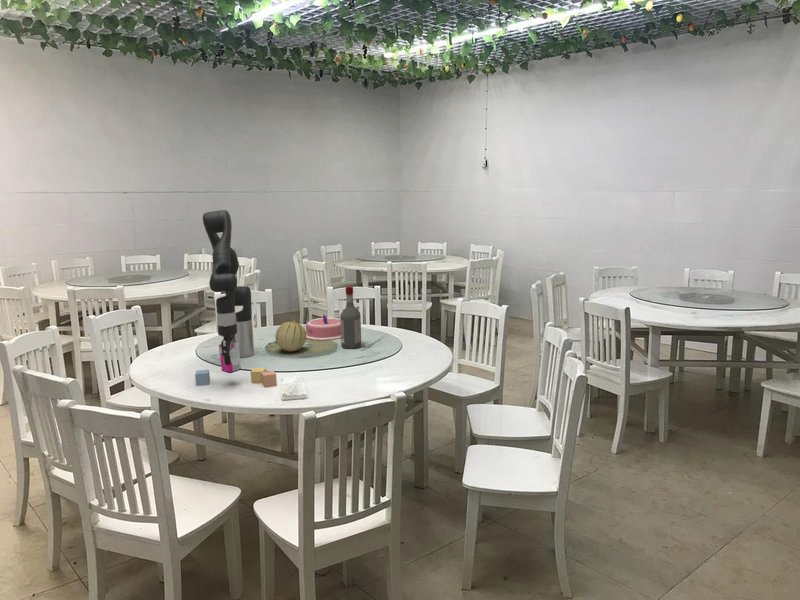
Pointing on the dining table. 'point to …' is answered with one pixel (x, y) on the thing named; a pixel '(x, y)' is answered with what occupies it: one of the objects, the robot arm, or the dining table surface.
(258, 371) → the ochre block
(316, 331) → the cake
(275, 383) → the terracotta block
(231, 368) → the supplement box
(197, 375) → the slate block
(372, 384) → the dining table surface
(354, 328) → the liquor
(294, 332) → the cantaloupe
